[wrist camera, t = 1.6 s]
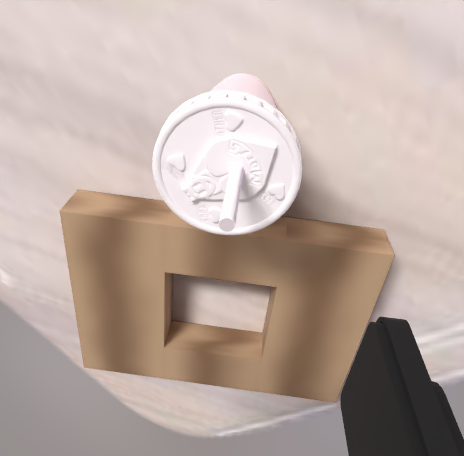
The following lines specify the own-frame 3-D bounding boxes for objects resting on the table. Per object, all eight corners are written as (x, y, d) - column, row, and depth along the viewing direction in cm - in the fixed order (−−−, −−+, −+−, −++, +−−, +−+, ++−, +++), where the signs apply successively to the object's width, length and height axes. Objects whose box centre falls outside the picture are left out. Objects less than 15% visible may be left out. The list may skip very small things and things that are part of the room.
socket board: (384, 229, 29) (394, 255, 27) (331, 373, 38) (335, 402, 36) (77, 189, 30) (59, 211, 27) (96, 340, 38) (83, 367, 36)
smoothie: (313, 122, 26) (344, 263, 14) (226, 170, 28) (190, 325, 16) (260, 25, 23) (245, 97, 11) (169, 86, 25) (76, 199, 13)
